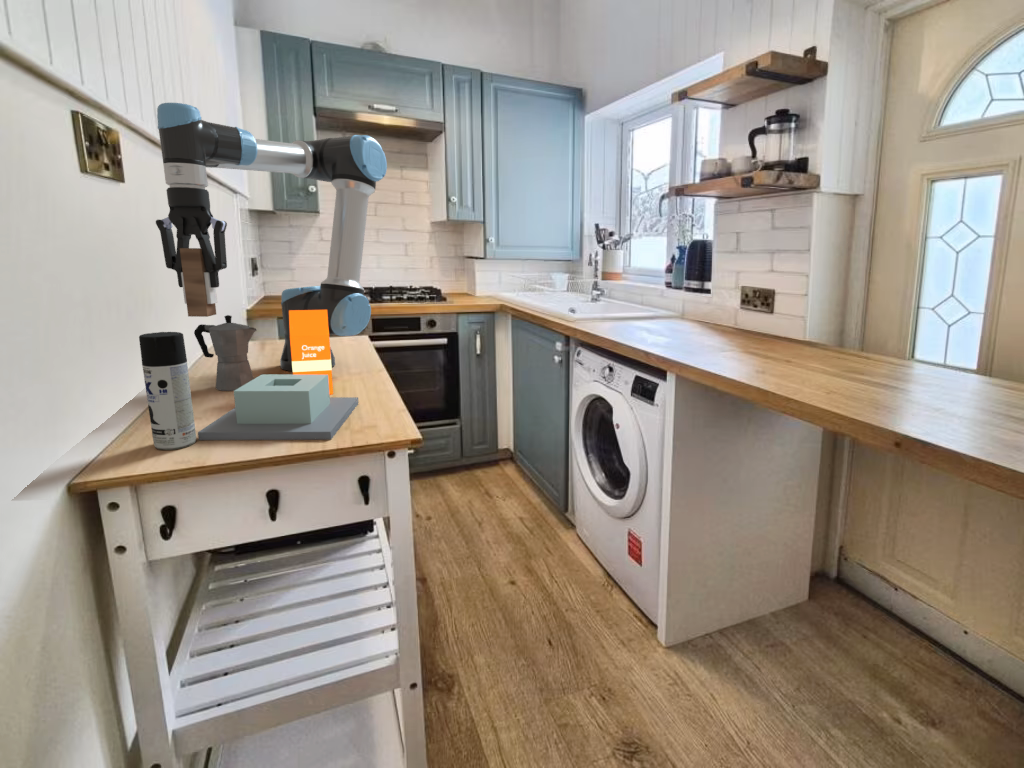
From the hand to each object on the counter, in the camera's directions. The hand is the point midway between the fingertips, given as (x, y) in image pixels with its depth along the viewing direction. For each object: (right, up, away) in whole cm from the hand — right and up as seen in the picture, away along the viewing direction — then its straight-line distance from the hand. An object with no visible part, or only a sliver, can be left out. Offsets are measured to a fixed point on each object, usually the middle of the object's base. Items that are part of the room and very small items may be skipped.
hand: (201, 302), depth 120 cm
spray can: (+6, -28, -19) cm, 34 cm away
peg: (0, -3, +1) cm, 3 cm away
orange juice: (+18, -19, +18) cm, 32 cm away
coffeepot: (-4, -18, +22) cm, 29 cm away
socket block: (+20, -25, -4) cm, 32 cm away
